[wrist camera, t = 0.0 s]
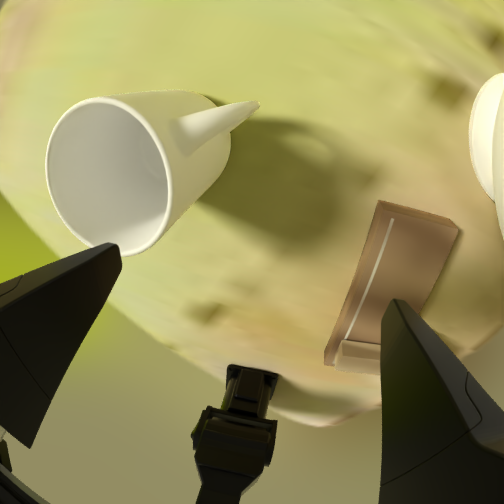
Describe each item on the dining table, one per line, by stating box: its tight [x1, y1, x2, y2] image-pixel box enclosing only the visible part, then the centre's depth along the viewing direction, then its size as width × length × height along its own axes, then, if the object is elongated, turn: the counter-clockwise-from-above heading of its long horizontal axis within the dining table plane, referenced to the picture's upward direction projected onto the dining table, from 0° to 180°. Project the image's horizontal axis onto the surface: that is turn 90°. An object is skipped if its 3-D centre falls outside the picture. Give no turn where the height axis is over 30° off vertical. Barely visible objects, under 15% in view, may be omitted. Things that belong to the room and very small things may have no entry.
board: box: [324, 200, 459, 366], centre depth 24 cm, size 18×7×2 cm, turn 174°
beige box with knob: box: [335, 340, 380, 375], centre depth 24 cm, size 5×10×8 cm, turn 84°
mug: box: [45, 89, 260, 257], centre depth 16 cm, size 9×12×11 cm
